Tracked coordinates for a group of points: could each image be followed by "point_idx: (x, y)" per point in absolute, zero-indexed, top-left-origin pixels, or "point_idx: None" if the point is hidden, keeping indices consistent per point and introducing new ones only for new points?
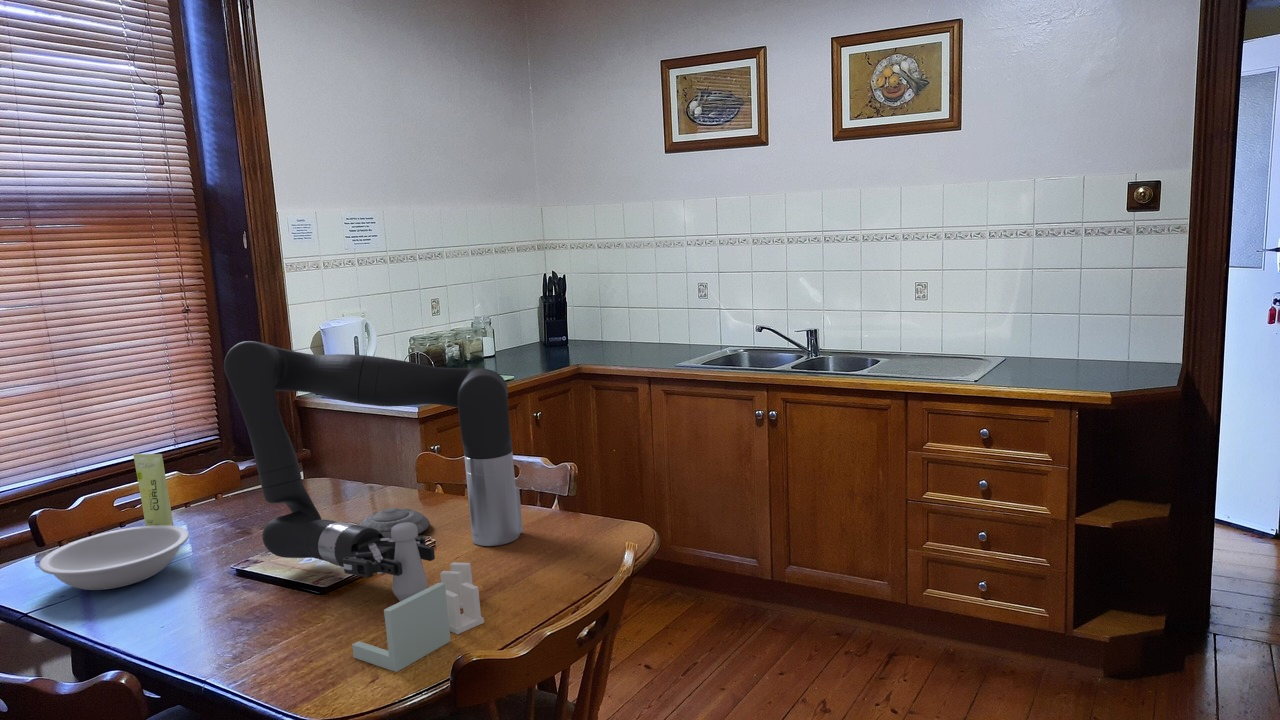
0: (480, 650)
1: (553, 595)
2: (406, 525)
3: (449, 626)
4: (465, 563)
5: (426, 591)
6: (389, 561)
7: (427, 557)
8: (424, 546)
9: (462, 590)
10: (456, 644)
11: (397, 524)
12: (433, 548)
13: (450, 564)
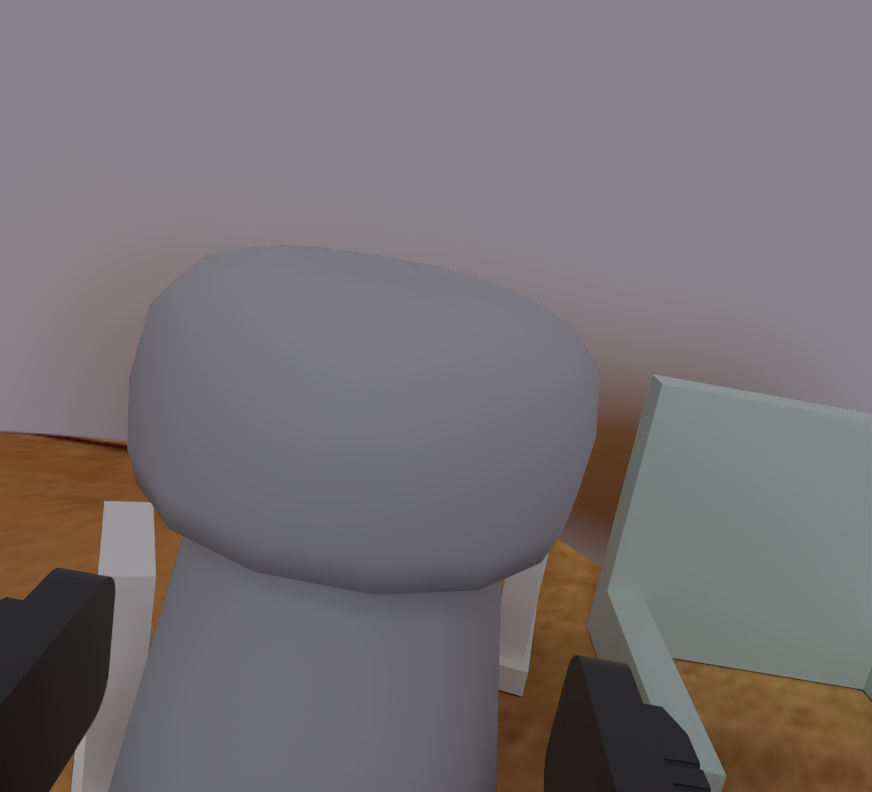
0: (563, 546)
1: (55, 488)
2: (398, 261)
3: (531, 637)
4: (117, 517)
5: (758, 395)
6: (659, 754)
7: (77, 715)
8: (22, 635)
9: None
10: (588, 604)
11: (413, 298)
12: (8, 599)
13: (150, 576)
